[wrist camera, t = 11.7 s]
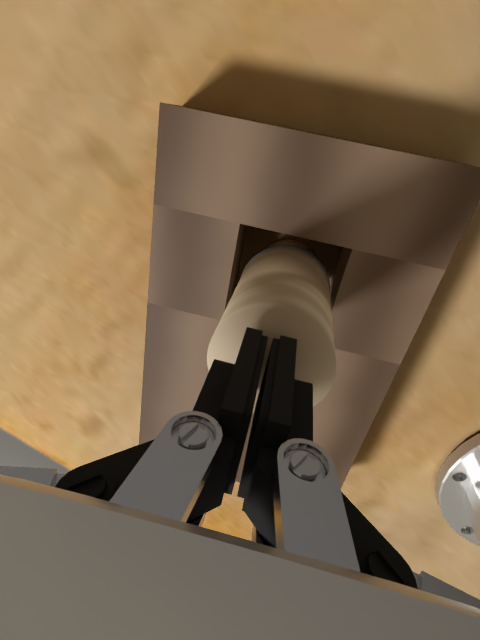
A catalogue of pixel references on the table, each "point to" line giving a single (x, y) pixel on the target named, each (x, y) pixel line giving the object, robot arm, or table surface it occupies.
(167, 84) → the table surface
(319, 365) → the beech leg
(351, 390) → the walnut board
